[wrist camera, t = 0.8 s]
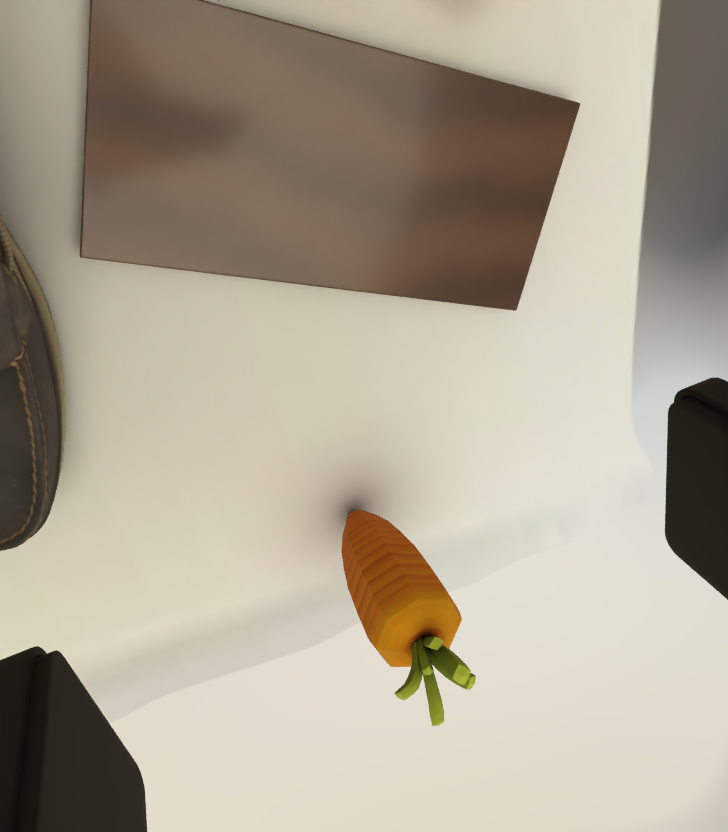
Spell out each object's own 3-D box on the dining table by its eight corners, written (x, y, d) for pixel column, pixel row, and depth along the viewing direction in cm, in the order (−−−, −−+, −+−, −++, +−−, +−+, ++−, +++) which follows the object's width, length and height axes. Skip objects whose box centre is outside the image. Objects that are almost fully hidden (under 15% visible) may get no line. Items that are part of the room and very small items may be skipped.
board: (91, -28, 27) (91, -31, 26) (567, 101, 35) (581, 103, 34) (80, 251, 31) (79, 257, 30) (506, 304, 40) (516, 311, 39)
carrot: (357, 556, 45) (457, 751, 32) (299, 528, 42) (384, 728, 30) (404, 499, 44) (526, 677, 31) (348, 467, 41) (456, 647, 29)
